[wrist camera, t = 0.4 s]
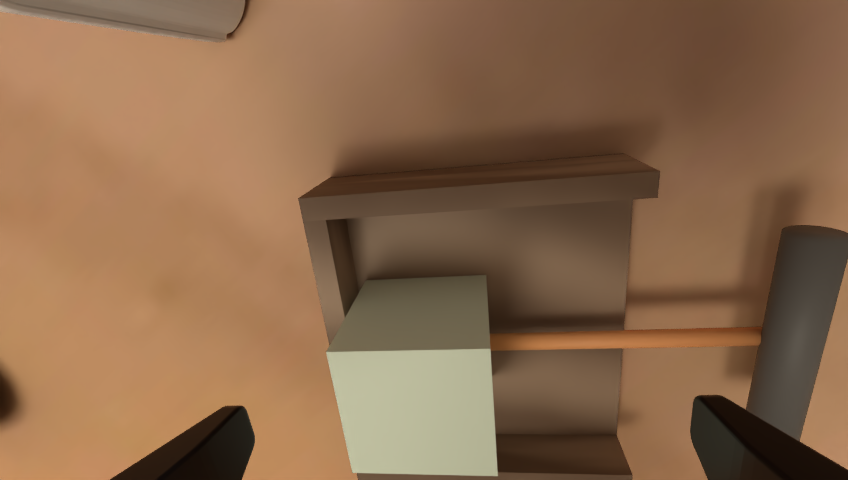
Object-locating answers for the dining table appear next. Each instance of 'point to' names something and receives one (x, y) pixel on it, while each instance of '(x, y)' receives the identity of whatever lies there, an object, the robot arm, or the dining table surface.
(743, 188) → the dining table surface
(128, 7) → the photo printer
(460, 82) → the dining table surface
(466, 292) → the corded block
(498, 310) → the brown wooden tray
